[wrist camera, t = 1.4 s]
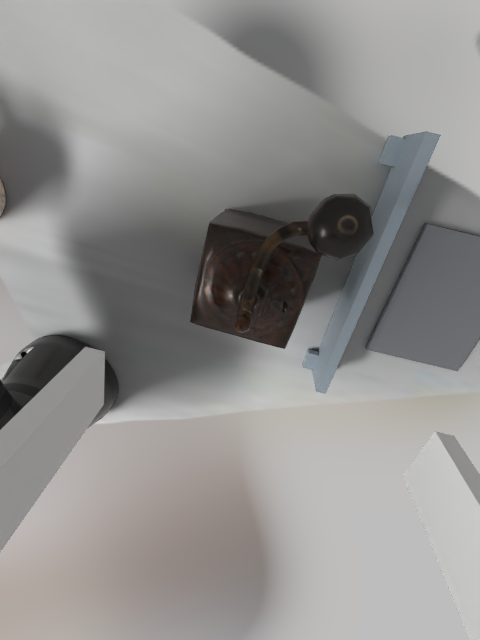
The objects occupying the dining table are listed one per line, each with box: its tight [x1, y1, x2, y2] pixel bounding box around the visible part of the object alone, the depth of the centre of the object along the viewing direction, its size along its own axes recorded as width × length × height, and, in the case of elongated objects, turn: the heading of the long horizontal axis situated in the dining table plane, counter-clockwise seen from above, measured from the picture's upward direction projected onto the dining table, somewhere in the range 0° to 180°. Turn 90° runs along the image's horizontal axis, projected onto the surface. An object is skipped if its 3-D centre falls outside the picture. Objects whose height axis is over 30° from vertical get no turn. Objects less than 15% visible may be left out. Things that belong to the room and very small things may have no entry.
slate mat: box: [366, 223, 480, 371], centre depth 37 cm, size 12×16×1 cm
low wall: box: [303, 132, 440, 393], centre depth 34 cm, size 4×28×5 cm, turn 168°
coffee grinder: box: [190, 194, 374, 349], centre depth 28 cm, size 16×11×18 cm
